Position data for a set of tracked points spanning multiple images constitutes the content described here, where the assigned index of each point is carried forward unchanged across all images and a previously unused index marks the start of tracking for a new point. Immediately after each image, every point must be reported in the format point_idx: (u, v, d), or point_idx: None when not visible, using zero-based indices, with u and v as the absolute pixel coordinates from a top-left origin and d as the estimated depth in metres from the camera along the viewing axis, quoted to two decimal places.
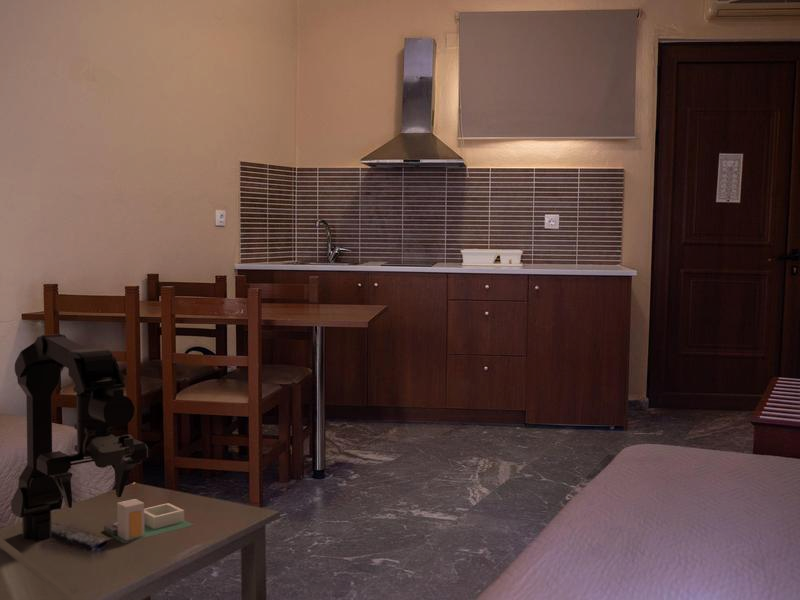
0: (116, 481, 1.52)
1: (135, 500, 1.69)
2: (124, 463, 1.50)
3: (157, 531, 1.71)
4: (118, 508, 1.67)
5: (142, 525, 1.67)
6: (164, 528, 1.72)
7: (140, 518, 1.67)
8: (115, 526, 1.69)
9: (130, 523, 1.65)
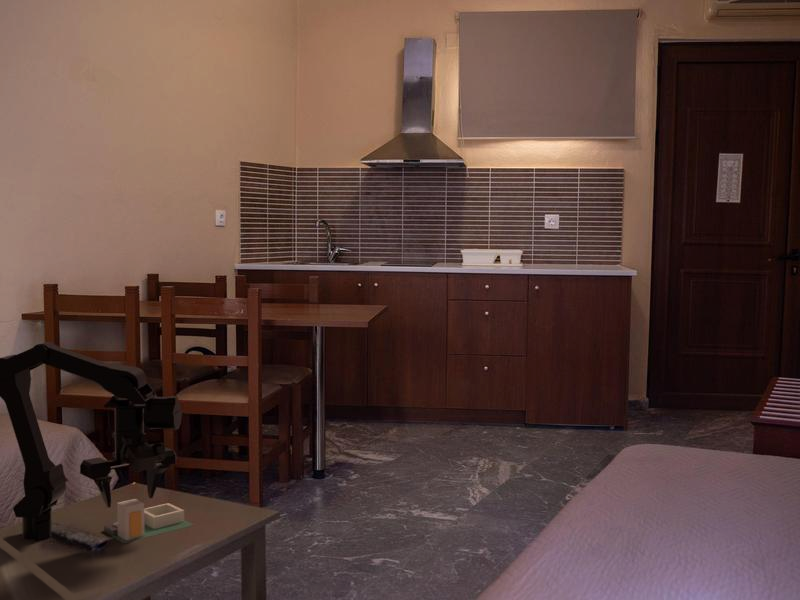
0: (148, 484, 1.71)
1: (135, 500, 1.69)
2: (156, 468, 1.69)
3: (157, 531, 1.71)
4: (118, 508, 1.67)
5: (142, 525, 1.67)
6: (164, 528, 1.72)
7: (140, 518, 1.67)
8: (115, 526, 1.69)
9: (130, 523, 1.65)
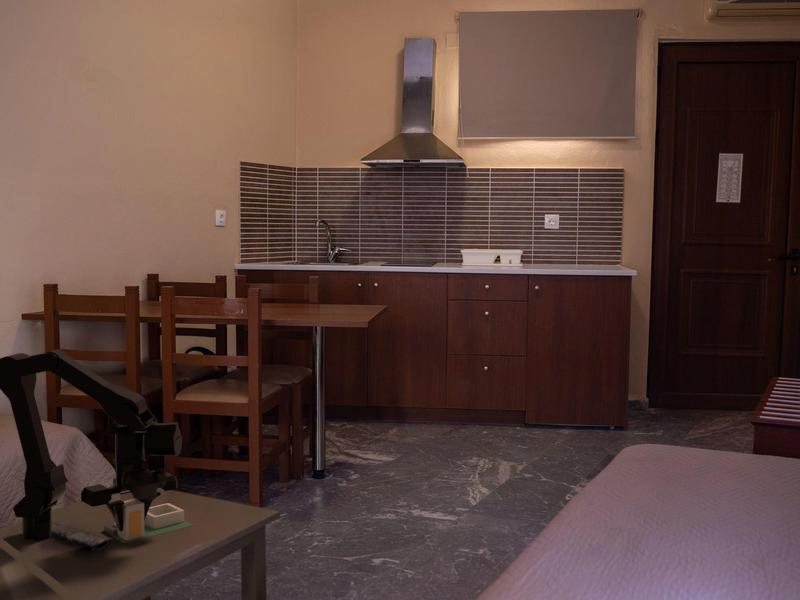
0: None
1: (135, 500, 1.69)
2: None
3: (157, 531, 1.71)
4: None
5: (142, 525, 1.67)
6: (164, 528, 1.72)
7: (140, 518, 1.67)
8: (115, 526, 1.69)
9: (130, 523, 1.65)
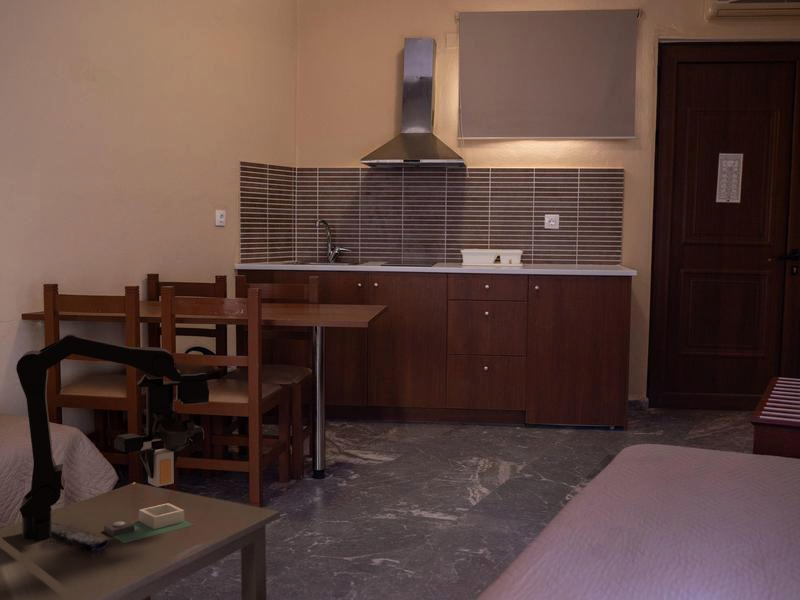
0: None
1: (165, 449, 1.77)
2: (175, 445, 1.77)
3: (157, 531, 1.71)
4: None
5: (171, 473, 1.76)
6: (164, 528, 1.72)
7: (170, 466, 1.75)
8: (115, 526, 1.69)
9: (161, 470, 1.74)
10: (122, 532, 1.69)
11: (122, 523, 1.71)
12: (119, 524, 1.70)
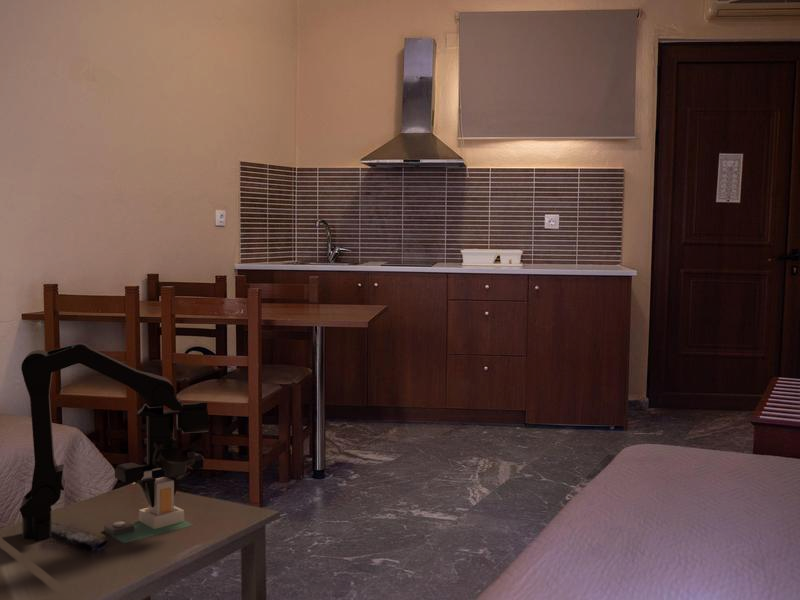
0: None
1: (165, 478, 1.78)
2: (175, 474, 1.77)
3: (157, 531, 1.71)
4: None
5: (172, 501, 1.76)
6: (164, 528, 1.72)
7: (170, 494, 1.76)
8: (115, 526, 1.69)
9: (161, 499, 1.74)
10: (122, 532, 1.69)
11: (122, 523, 1.71)
12: (119, 524, 1.70)
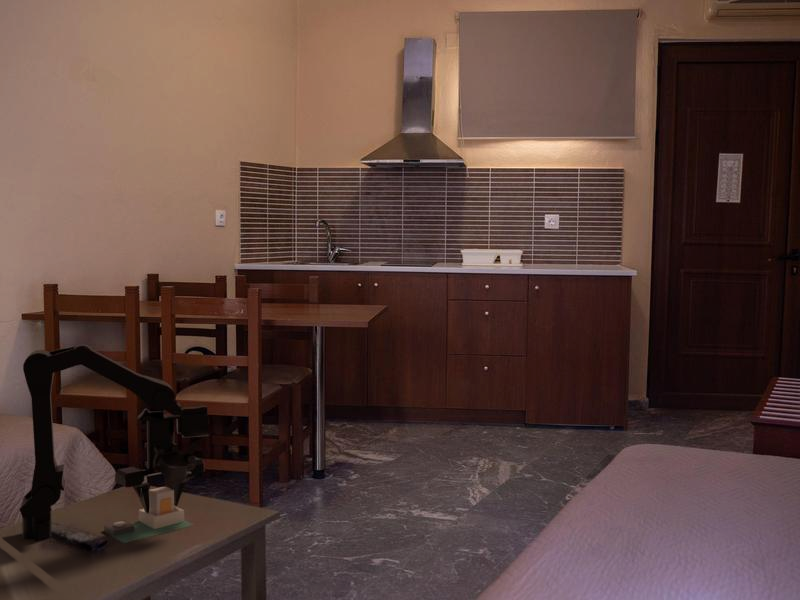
0: None
1: (165, 488, 1.78)
2: (180, 477, 1.78)
3: (157, 531, 1.71)
4: (149, 495, 1.76)
5: (172, 511, 1.76)
6: (164, 528, 1.72)
7: (170, 504, 1.76)
8: (115, 526, 1.69)
9: (161, 509, 1.74)
10: (122, 532, 1.69)
11: (122, 523, 1.71)
12: (119, 524, 1.70)
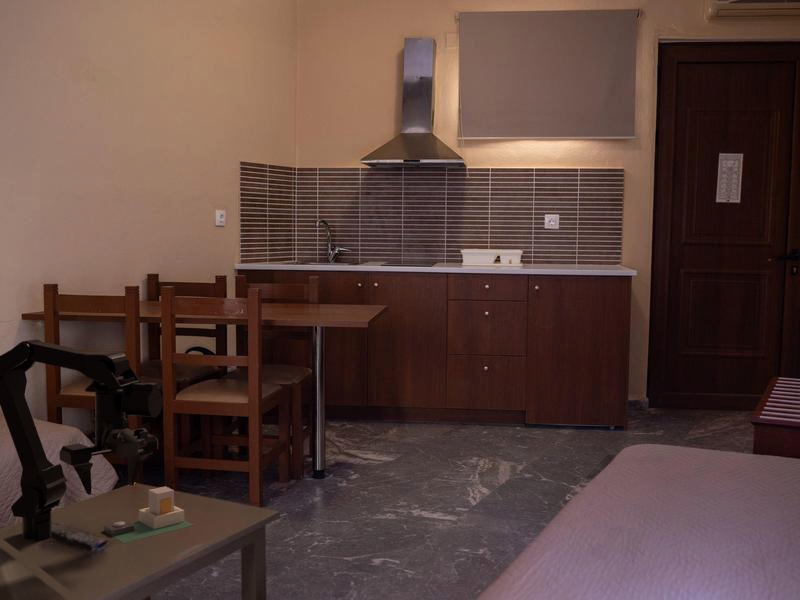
0: (129, 471, 1.68)
1: (165, 488, 1.78)
2: (137, 454, 1.66)
3: (157, 531, 1.71)
4: (149, 495, 1.76)
5: (172, 511, 1.76)
6: (164, 528, 1.72)
7: (170, 504, 1.76)
8: (115, 526, 1.69)
9: (161, 509, 1.74)
10: (122, 532, 1.69)
11: (122, 523, 1.71)
12: (119, 524, 1.70)
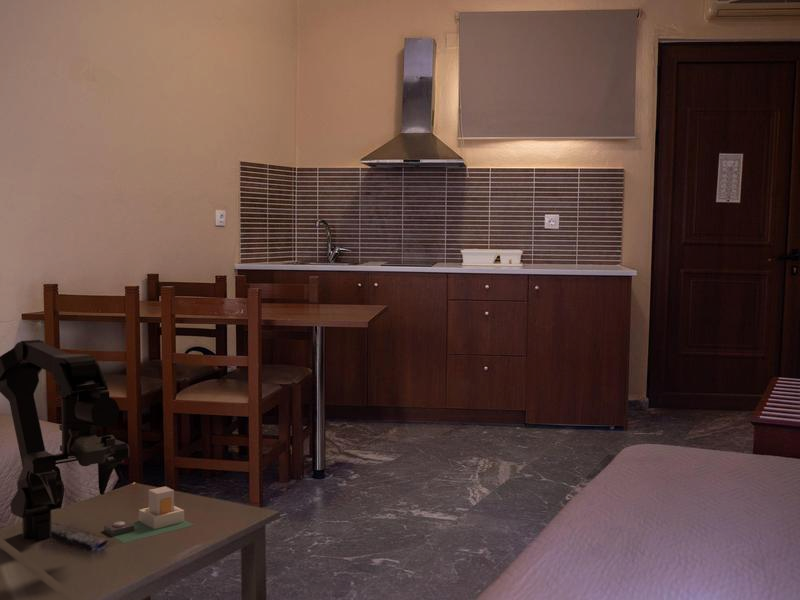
0: (99, 479, 1.60)
1: (165, 488, 1.78)
2: (107, 462, 1.59)
3: (157, 531, 1.71)
4: (149, 495, 1.76)
5: (172, 511, 1.76)
6: (164, 528, 1.72)
7: (170, 504, 1.76)
8: (115, 526, 1.69)
9: (161, 509, 1.74)
10: (122, 532, 1.69)
11: (122, 523, 1.71)
12: (119, 524, 1.70)
